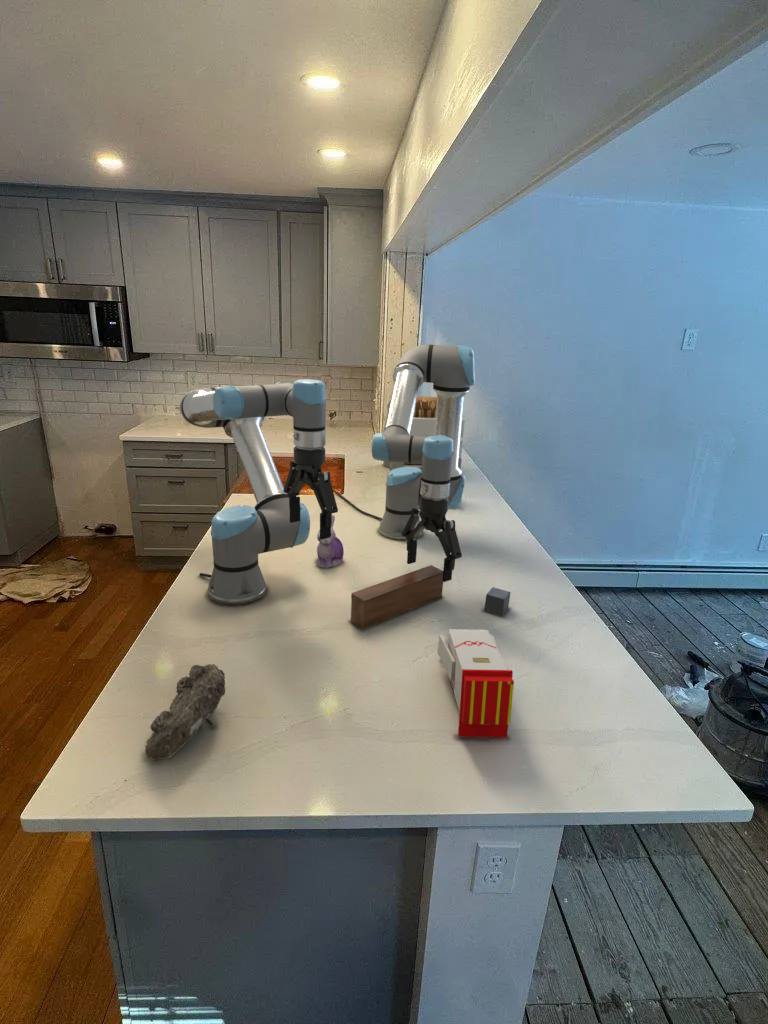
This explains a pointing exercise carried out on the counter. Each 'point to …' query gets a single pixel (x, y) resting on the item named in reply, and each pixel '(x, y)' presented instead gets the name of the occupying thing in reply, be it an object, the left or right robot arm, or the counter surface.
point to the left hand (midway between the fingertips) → (309, 529)
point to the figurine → (329, 549)
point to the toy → (478, 682)
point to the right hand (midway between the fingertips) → (428, 571)
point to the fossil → (186, 710)
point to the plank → (396, 596)
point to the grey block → (497, 601)
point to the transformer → (424, 426)
